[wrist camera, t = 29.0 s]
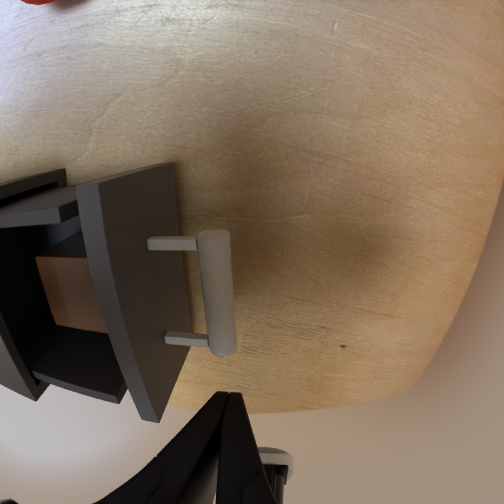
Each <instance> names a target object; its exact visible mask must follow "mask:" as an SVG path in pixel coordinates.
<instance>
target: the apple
mask: <svg viewBox="0 0 504 504" xmlns="http://www.w3.org/2000/svg"><path fill="white" fill-rule="evenodd" d="M21 1H23V2H25V3H28V4H35V5H41V4H46V3H50V2H54V1H58V0H21Z"/></svg>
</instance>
